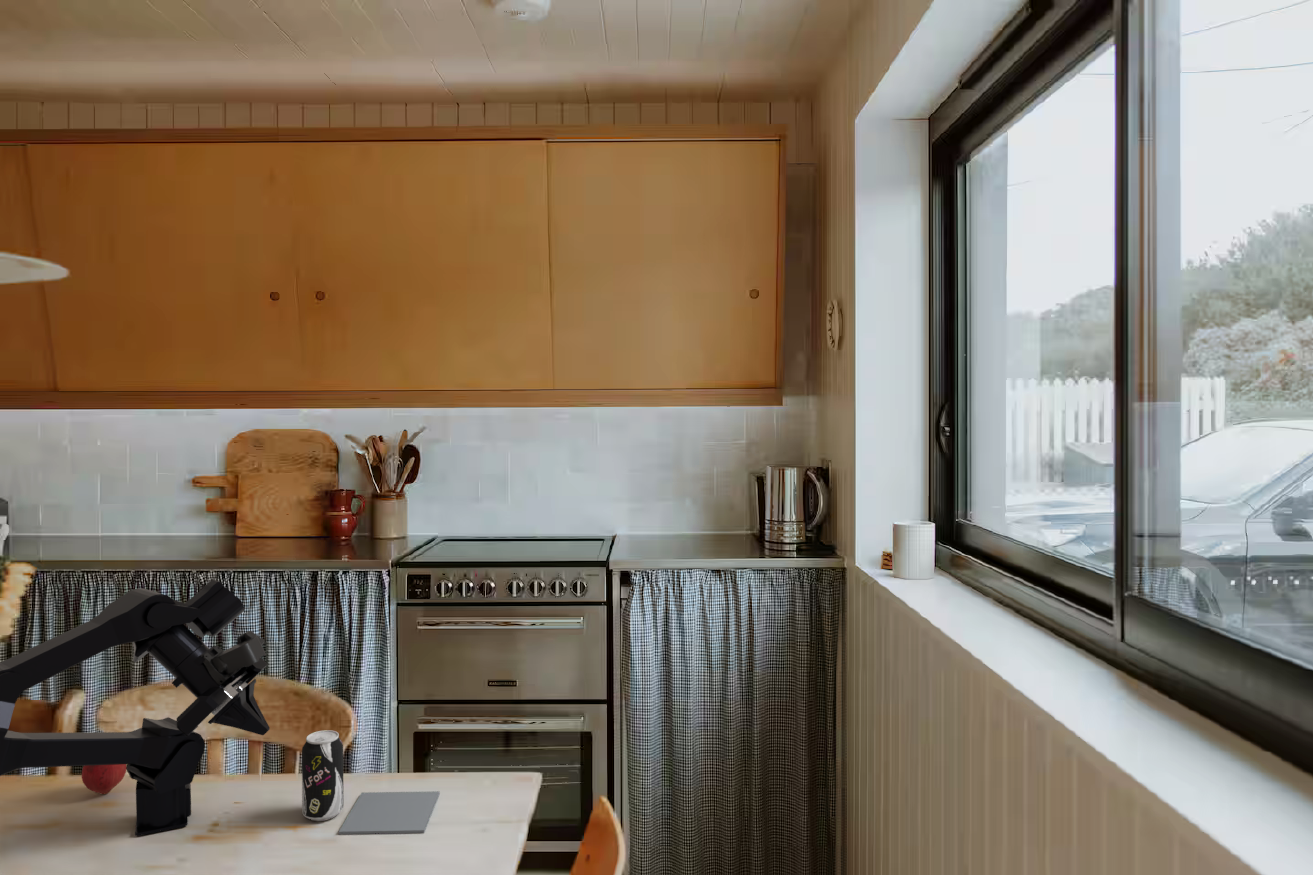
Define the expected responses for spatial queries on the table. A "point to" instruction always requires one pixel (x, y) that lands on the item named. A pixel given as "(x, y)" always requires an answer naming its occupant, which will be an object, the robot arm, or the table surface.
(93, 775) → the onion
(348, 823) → the mat
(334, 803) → the beverage can
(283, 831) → the table surface
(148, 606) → the robot arm
